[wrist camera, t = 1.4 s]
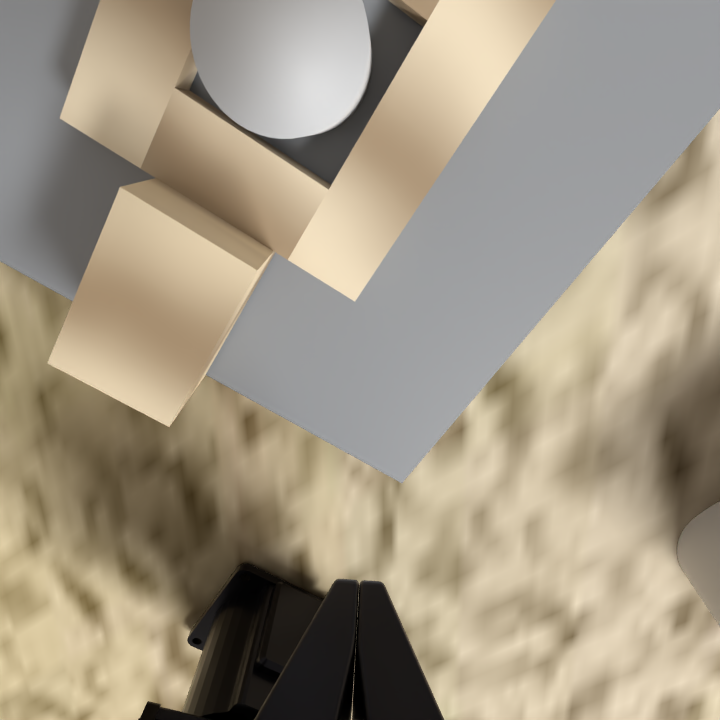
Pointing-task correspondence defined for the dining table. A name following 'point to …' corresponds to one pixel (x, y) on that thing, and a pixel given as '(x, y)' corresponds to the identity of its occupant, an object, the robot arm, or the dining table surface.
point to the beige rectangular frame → (249, 187)
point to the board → (428, 223)
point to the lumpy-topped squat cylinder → (703, 557)
